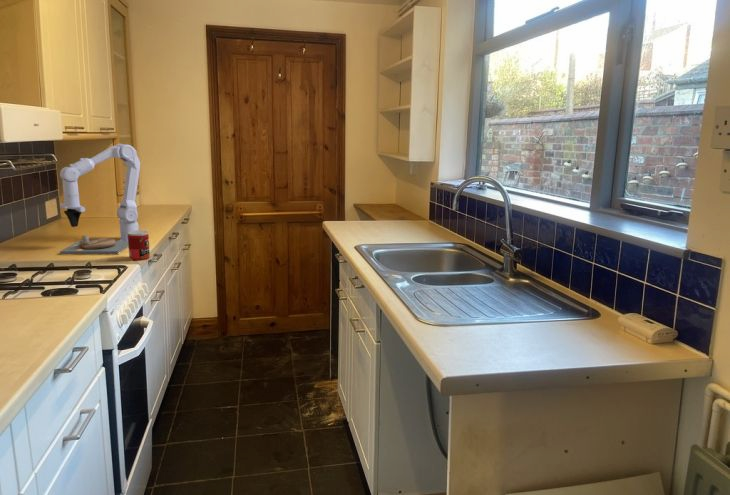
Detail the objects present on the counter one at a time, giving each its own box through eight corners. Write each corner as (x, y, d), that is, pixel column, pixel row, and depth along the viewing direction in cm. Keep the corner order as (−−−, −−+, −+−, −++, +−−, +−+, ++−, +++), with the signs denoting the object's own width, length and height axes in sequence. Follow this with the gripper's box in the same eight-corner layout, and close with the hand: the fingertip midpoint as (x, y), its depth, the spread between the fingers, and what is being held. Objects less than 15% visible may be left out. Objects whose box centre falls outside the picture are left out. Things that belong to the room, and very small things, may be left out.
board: (79, 243, 248) (78, 240, 247) (132, 244, 250) (131, 240, 250) (60, 254, 229) (60, 250, 229) (117, 254, 232) (117, 250, 231)
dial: (72, 246, 236) (70, 234, 235) (99, 240, 248) (98, 229, 247) (95, 250, 230) (94, 238, 229) (122, 243, 243) (121, 232, 241)
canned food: (143, 261, 223) (141, 234, 220) (125, 259, 224) (123, 233, 222) (153, 256, 230) (152, 231, 228) (136, 255, 232) (134, 229, 229)
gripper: (52, 194, 236) (55, 225, 239) (72, 198, 229) (75, 230, 232) (68, 192, 242) (71, 223, 245) (88, 196, 235) (91, 227, 238)
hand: (74, 226), depth 239 cm, fingers closed
